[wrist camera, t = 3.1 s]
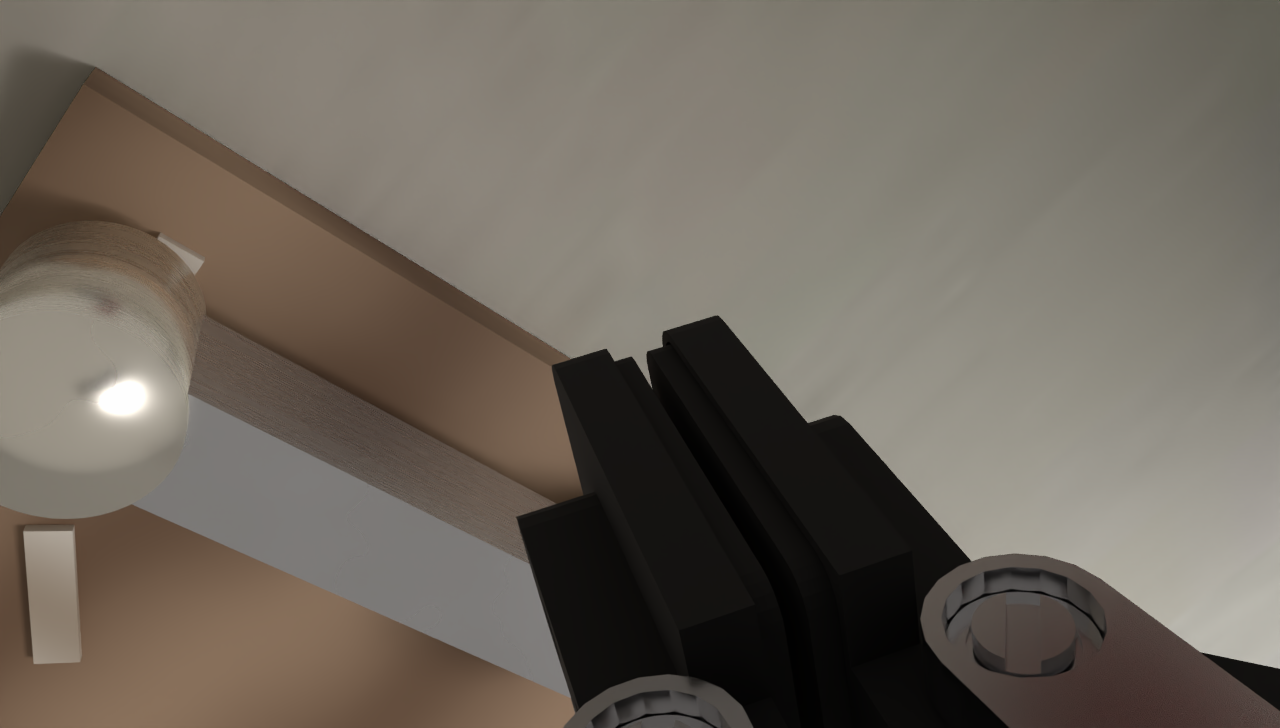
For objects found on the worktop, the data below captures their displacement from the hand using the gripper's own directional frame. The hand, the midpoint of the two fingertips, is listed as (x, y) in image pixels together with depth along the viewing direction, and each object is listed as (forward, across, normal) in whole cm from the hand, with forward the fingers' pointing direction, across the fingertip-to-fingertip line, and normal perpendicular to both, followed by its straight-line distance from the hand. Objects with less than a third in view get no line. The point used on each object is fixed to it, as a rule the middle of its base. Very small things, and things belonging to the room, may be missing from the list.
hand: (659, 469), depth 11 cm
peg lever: (+10, +3, +5) cm, 11 cm away
